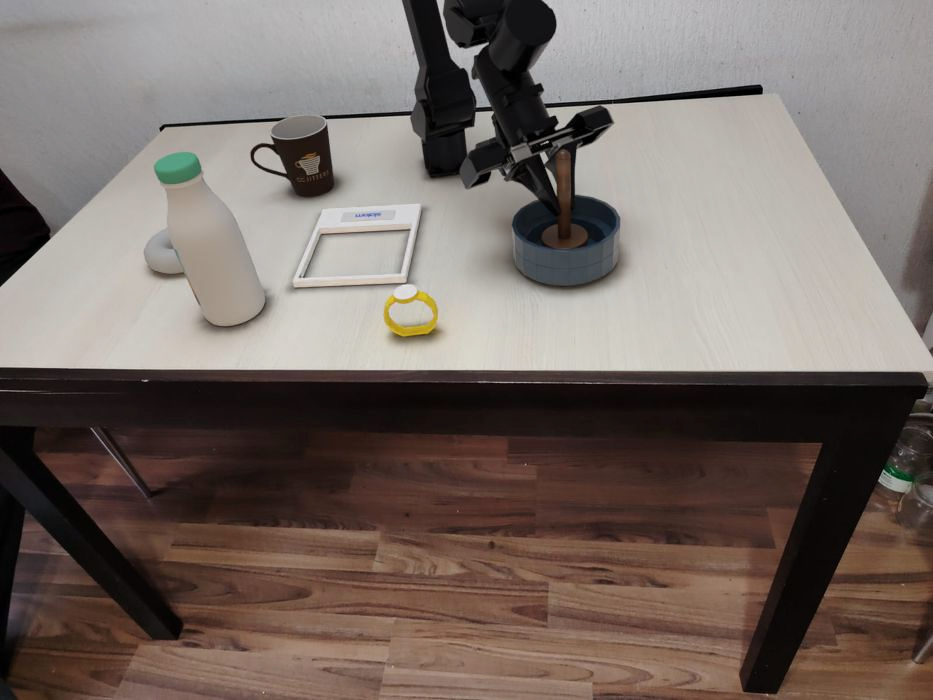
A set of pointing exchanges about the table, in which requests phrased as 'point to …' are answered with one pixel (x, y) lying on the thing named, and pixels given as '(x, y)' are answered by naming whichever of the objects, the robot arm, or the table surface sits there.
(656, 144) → the table surface
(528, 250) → the bowl
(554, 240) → the wooden plunger
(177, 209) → the milk bottle
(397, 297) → the watch
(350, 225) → the photo frame
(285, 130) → the coffee mug
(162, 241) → the donut
